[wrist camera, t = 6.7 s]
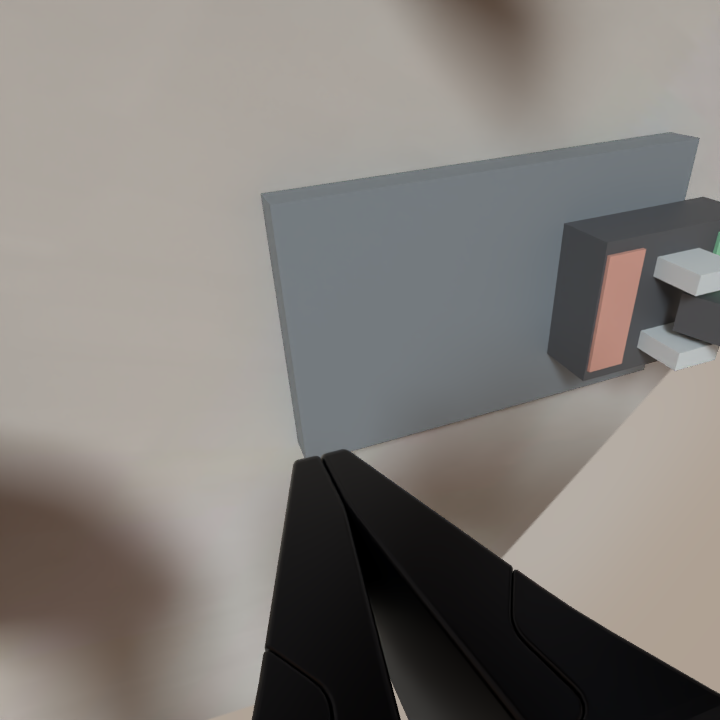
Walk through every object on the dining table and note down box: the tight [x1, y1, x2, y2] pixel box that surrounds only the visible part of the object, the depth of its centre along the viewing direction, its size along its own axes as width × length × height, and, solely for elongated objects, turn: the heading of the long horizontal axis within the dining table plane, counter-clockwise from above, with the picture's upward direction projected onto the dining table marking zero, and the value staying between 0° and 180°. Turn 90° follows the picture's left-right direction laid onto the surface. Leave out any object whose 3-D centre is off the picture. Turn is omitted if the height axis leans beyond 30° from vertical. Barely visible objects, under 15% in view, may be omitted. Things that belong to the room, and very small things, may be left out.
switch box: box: [261, 132, 720, 458], centre depth 22 cm, size 18×11×6 cm, turn 93°
